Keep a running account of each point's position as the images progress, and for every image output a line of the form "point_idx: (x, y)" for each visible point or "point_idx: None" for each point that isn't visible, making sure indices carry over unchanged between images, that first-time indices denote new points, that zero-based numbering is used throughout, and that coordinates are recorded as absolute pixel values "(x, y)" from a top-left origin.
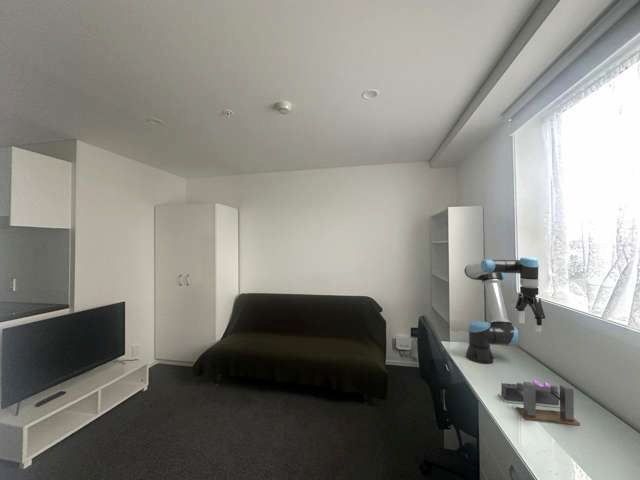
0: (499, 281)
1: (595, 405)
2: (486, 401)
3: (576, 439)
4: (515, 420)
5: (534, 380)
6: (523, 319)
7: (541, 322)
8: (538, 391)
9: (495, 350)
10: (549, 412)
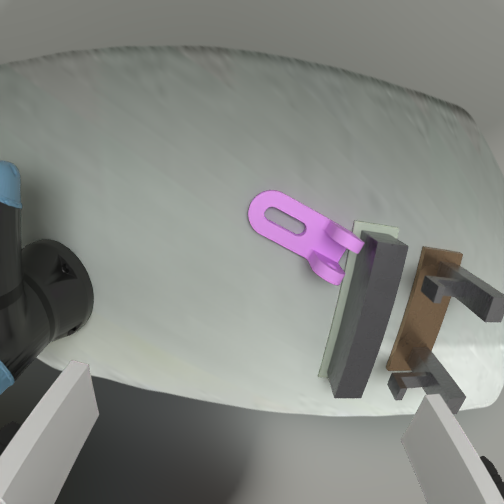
0: None
1: (381, 98)
2: (344, 412)
3: None
4: None
5: (330, 279)
6: (67, 412)
7: (501, 483)
8: (390, 310)
9: None
10: (421, 300)
